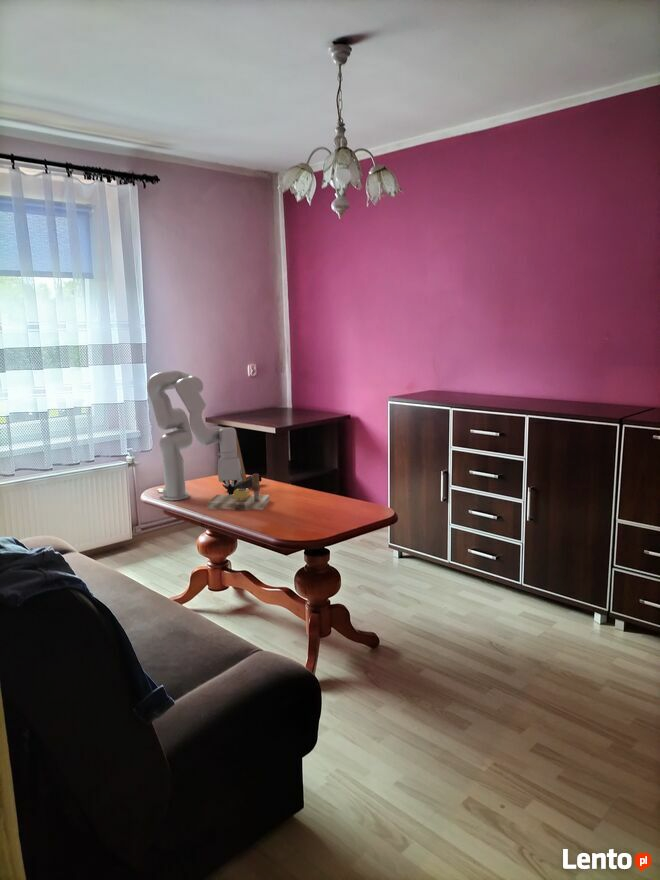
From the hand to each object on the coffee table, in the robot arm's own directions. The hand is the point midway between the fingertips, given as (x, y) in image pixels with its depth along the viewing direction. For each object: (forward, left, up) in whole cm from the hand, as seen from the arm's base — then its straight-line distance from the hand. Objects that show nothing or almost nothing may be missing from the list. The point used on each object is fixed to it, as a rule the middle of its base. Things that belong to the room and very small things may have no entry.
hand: (231, 494), depth 295 cm
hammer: (-2, +27, -5) cm, 28 cm away
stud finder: (+5, 0, -1) cm, 5 cm away
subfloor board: (+4, -3, -4) cm, 7 cm away
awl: (+13, -6, -1) cm, 15 cm away
